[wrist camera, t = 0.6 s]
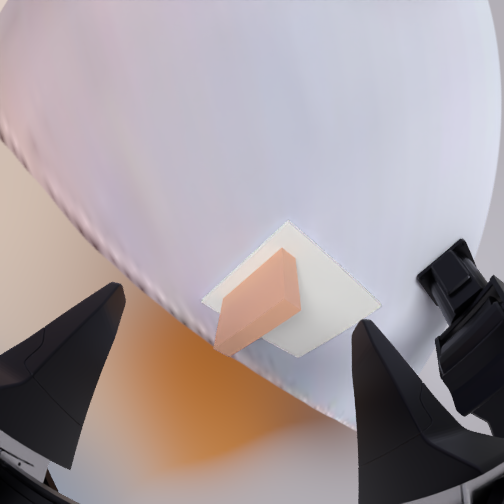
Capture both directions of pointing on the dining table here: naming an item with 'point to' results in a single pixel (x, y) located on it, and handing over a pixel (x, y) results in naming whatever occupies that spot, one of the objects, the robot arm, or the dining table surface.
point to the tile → (259, 304)
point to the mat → (305, 292)
